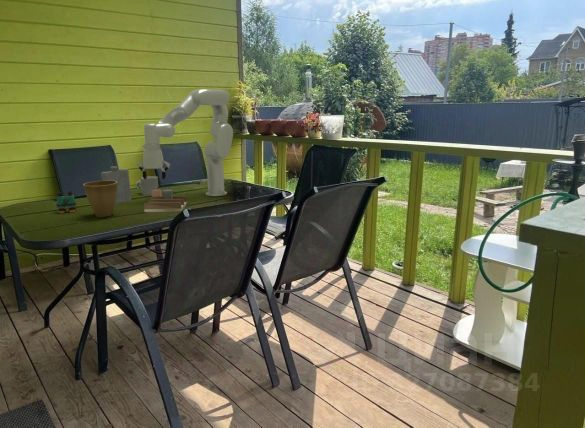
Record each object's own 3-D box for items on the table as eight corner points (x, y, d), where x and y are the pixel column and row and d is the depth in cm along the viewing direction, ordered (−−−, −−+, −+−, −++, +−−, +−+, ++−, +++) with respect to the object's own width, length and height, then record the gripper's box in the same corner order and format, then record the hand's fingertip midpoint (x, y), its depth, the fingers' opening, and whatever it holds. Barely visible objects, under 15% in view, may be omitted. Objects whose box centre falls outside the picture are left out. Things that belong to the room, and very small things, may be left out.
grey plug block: (164, 202, 232) (163, 189, 230) (173, 202, 232) (172, 189, 230) (163, 204, 228) (162, 191, 226) (171, 204, 228) (170, 191, 227)
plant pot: (96, 212, 219) (92, 180, 215) (125, 212, 218) (122, 180, 215) (81, 219, 204) (76, 185, 201) (112, 219, 204) (108, 185, 200)
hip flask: (106, 205, 233) (102, 168, 228) (102, 204, 235) (98, 167, 230) (132, 200, 245) (129, 165, 241) (128, 199, 248) (124, 164, 243)
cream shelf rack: (153, 204, 235) (152, 196, 234) (187, 203, 236) (186, 195, 235) (144, 212, 217) (143, 203, 216) (181, 211, 218) (180, 202, 217)
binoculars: (74, 189, 225) (74, 191, 216) (76, 210, 227) (77, 212, 218) (54, 191, 221) (54, 192, 212) (57, 212, 223) (57, 214, 214)
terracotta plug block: (154, 202, 241) (153, 189, 240) (162, 201, 242) (161, 189, 240) (152, 203, 238) (151, 190, 236) (160, 203, 238) (159, 190, 236)
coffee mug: (162, 192, 267) (161, 176, 265) (152, 195, 258) (150, 179, 256) (144, 191, 272) (142, 175, 269) (133, 194, 263) (131, 178, 260)
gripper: (134, 147, 228) (136, 180, 232) (167, 147, 229) (169, 180, 233) (138, 146, 235) (140, 178, 239) (170, 146, 237) (172, 178, 240)
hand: (154, 179), depth 236 cm, fingers open, 9 cm apart
